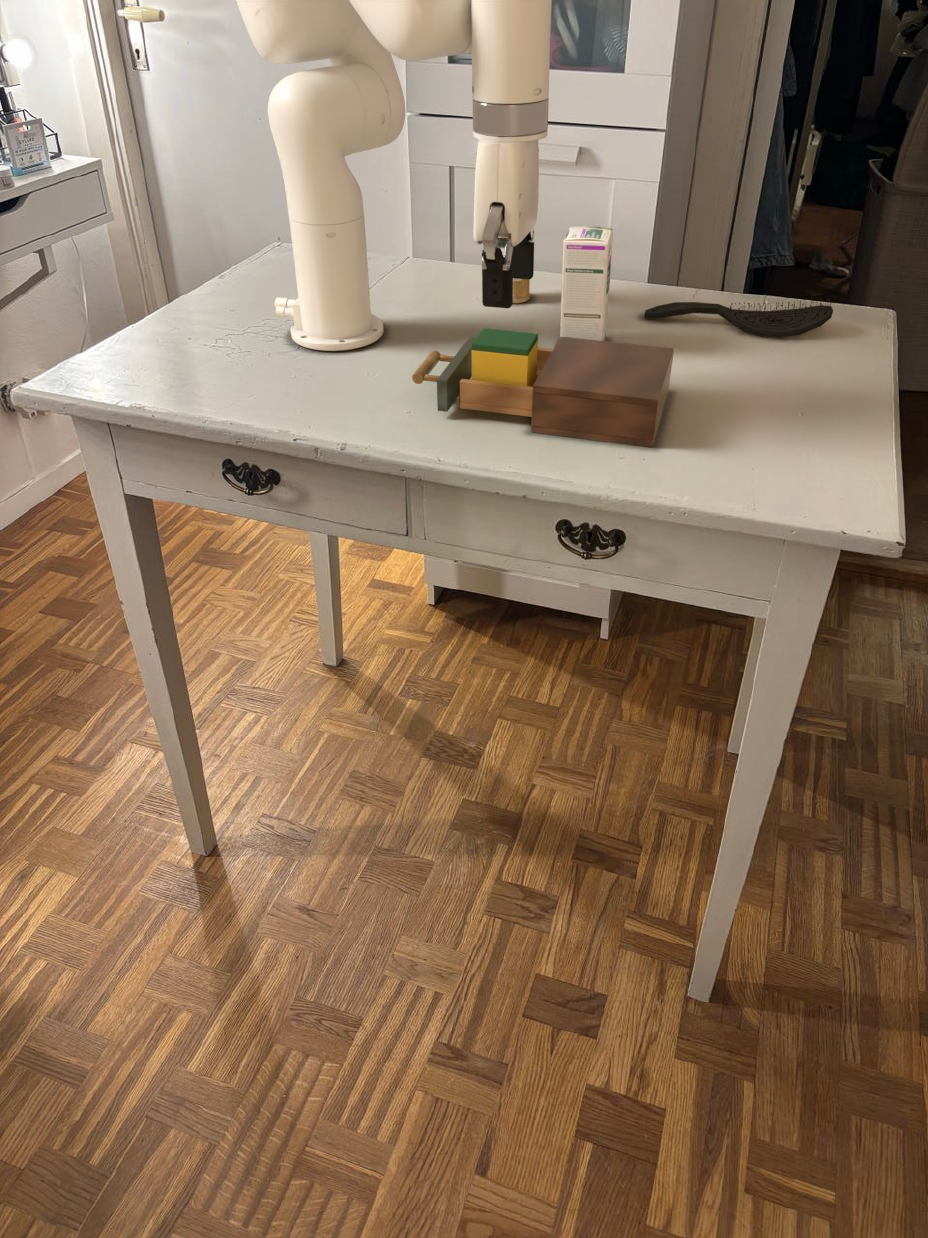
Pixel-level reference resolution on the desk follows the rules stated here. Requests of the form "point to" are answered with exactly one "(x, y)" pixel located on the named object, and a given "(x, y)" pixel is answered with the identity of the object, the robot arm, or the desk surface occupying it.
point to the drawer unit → (602, 391)
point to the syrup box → (586, 282)
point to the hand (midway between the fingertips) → (508, 291)
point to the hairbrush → (754, 317)
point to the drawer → (476, 384)
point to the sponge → (505, 357)
